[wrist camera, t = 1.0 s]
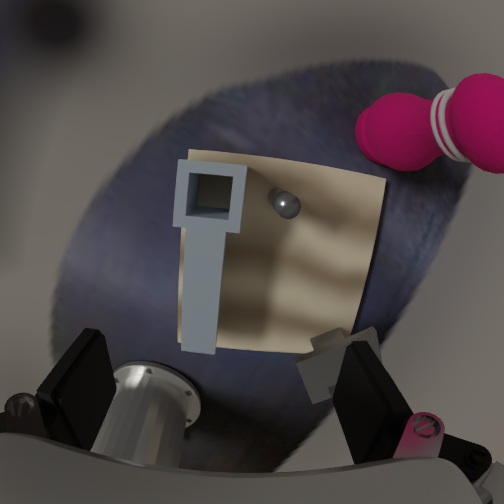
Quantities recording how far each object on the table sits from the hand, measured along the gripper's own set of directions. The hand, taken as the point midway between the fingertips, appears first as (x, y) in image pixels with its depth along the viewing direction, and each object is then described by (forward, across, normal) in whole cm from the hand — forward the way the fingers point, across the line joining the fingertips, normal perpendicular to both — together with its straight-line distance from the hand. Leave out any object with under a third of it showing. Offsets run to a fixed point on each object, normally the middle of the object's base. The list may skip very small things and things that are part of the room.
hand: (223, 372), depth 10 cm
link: (+18, +2, +1) cm, 18 cm away
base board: (+20, -4, +2) cm, 20 cm away
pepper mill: (+20, -14, -12) cm, 27 cm away
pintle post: (+20, -4, -4) cm, 20 cm away
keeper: (+20, -9, +8) cm, 23 cm away
